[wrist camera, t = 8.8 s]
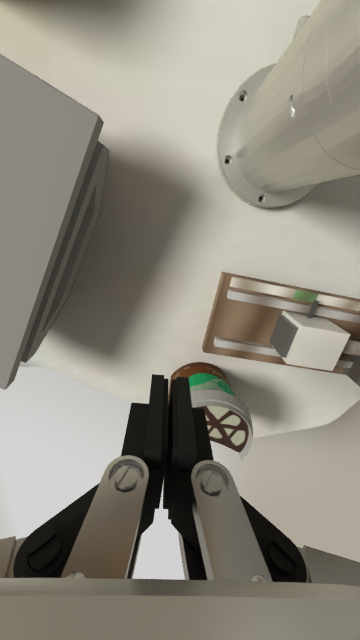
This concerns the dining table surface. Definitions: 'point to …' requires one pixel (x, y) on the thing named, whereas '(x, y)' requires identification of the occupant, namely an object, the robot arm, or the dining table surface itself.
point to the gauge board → (275, 320)
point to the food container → (218, 406)
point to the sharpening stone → (42, 206)
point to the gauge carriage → (308, 340)
